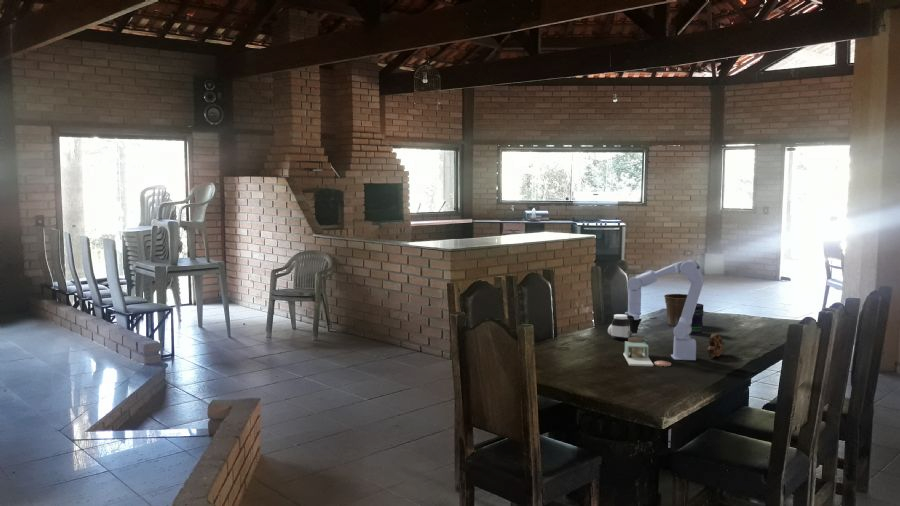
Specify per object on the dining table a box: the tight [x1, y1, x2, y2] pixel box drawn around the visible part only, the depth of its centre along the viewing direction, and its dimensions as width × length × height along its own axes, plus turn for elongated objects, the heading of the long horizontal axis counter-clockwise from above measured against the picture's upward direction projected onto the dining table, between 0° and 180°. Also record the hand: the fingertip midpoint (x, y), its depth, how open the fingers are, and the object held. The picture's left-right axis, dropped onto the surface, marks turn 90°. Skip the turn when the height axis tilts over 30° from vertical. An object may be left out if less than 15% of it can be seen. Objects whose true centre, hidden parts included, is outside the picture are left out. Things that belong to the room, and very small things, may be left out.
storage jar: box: [684, 302, 705, 336], centre depth 378 cm, size 10×10×15 cm
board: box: [623, 352, 654, 367], centre depth 322 cm, size 10×20×1 cm, turn 174°
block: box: [629, 347, 643, 358], centre depth 327 cm, size 4×4×5 cm
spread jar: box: [607, 313, 631, 341], centre depth 367 cm, size 12×11×12 cm
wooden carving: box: [707, 333, 725, 358], centre depth 329 cm, size 16×5×10 cm, turn 148°
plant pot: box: [663, 293, 688, 328], centre depth 398 cm, size 16×16×16 cm
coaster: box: [653, 360, 672, 367], centre depth 315 cm, size 7×7×1 cm
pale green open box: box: [624, 337, 649, 358], centre depth 327 cm, size 9×9×7 cm
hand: (633, 332), depth 336 cm, fingers open, 4 cm apart
